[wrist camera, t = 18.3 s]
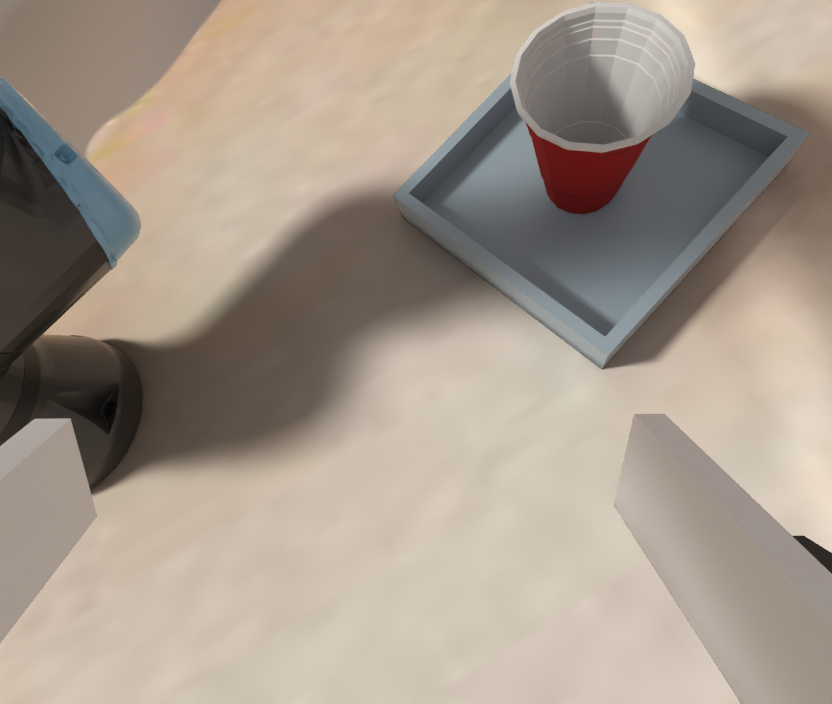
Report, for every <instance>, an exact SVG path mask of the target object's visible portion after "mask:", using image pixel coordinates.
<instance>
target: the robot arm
mask: <svg viewBox="0 0 832 704" xmlns="http://www.w3.org/2000/svg"><path fill="white" fill-rule="evenodd" d="M140 228H141V223H140V218H139V215H138V213H137V211H136V210H135V209H134V208H133V206H132V205H131V204H130V203H129V202H128V201H127V200H126V199H125V198H124V197H123V196H122V195H121V194H120V193H119V192H118V191H117V190H116V189H115V188H114V187H113V185H112V184H111V183H110V182H109V181H108V180H107V179H106V178H105V177H104V176H103V175H102V174H101V173H100V172H99V171H98V170H97V169H96V168H95V167H94V166H93V165H92V164H91V163H90V162H89V161H88V160H87V159H86V158H85V157H84V156H83V155H82V154H81V153H80V152H79V151H78V150H77V149H76V148H75V147H74V146H73V145H72V144H71V143H70V142H69V141H68V140H67V139H66V138H65V137H64V136H63V135H62V134H61V133H60V132H59V131H58V130H57V129H56V128H55V127H54V126H53V125H52V124H51V123H50V122H49V121H48V120H47V119H46V118H45V117H44V116H43V115H42V114H41V113H40V112H39V111H38V110H37V109H36V108H35V107H34V106H33V105H32V104H31V103H29V101H28V100H27V99H26V98H25V97H24V96H23V95H22V94H21V93H19V92H18V91H17V90H16V89H15V88H14V87H13V86H12V85H11V84H10V83H9V82H8V81H6V80H4V79H2V78H0V643H1V642H2V640H3V639H4V638H5V636H6V635H7V634H8V632H9V631H10V630H11V628H12V627H13V626H14V624H15V623H16V622H17V621H18V619H19V618H20V617H21V615H22V614H23V613H24V611H25V610H26V609H27V607H28V606H29V605H30V603H31V602H32V601H33V600H34V598H35V597H36V596H37V594H38V593H39V592H40V590H41V589H42V588H43V586H44V585H45V584H46V582H47V581H48V580H49V579H50V577H51V576H52V575H53V573H54V572H55V571H56V569H57V568H58V567H59V565H60V564H61V563H62V562H63V560H64V559H65V558H66V556H67V555H68V554H69V552H70V551H71V550H72V548H73V547H74V546H75V544H76V543H77V542H78V541H79V539H80V538H81V537H82V535H83V534H84V533H85V531H86V530H87V529H88V527H89V526H90V525H91V523H92V522H93V521H94V520H95V518H96V517H97V513H96V510H95V506H94V502H93V499H92V495H91V491H90V489H91V488H92V487H94V486H95V485H96V484H98V483H99V482H100V481H102V480H103V479H104V478H105V477H106V476H107V475H108V474H109V473H110V472H111V471H112V470H113V469H114V468H115V466H116V465H117V464H118V463H119V461H120V460H121V459H122V457H123V455H124V454H125V452H126V451H127V449H128V447H129V445H130V443H131V441H132V439H133V436H134V434H135V431H136V428H137V425H138V421H139V417H140V411H141V387H140V381H139V378H138V374H137V372H136V370H135V367H134V366H133V364H132V362H131V361H130V359H129V358H128V357H127V356H126V355H125V354H124V353H123V352H122V351H120V350H119V349H117V348H116V347H114V346H111V345H109V344H106V343H104V342H101V341H98V340H96V339H93V338H89V337H85V336H75V335H72V336H62V335H42V334H43V333H44V332H45V331H46V330H47V329H48V328H49V327H50V326H52V325H53V324H54V323H55V322H56V321H57V320H58V319H59V318H60V317H61V316H62V315H63V314H64V313H65V312H66V311H67V310H68V309H69V308H71V307H72V306H73V305H74V304H75V303H76V302H77V301H78V300H79V299H80V298H81V297H82V296H83V295H84V294H85V293H86V292H87V291H88V290H90V289H91V288H92V287H93V286H94V285H95V284H96V283H97V282H98V281H99V280H100V279H101V278H102V277H103V276H104V275H105V274H106V273H107V272H109V271H110V270H112V269H113V268H114V267H115V266H116V265H117V260H118V259H119V258H120V257H121V256H122V255H123V254H124V253H125V251H126V250H127V249H128V248H129V247H130V246H131V245H132V244H133V242H134V241H135V240H136V239H137V238H138V235H139V233H140V232H139V231H140ZM614 506H615V508H616V510H617V511H618V513H619V514H620V516H621V517H622V519H623V520H624V522H625V524H626V525H627V527H628V528H629V530H630V531H631V533H632V534H633V536H634V538H635V539H636V541H637V542H638V544H639V545H640V547H641V549H642V550H643V552H644V553H645V555H646V556H647V558H648V559H649V561H650V563H651V564H652V566H653V567H654V569H655V570H656V572H657V573H658V575H659V577H660V578H661V580H662V581H663V583H664V584H665V586H666V587H667V589H668V591H669V592H670V594H671V595H672V597H673V598H674V600H675V601H676V603H677V605H678V606H679V608H680V609H681V611H682V612H683V614H684V615H685V617H686V619H687V620H688V622H689V623H690V625H691V626H692V628H693V629H694V631H695V633H696V634H697V636H698V637H699V639H700V640H701V642H702V644H703V645H704V647H705V648H706V650H707V651H708V653H709V654H710V656H711V658H712V659H713V661H714V662H715V664H716V665H717V667H718V668H719V670H720V672H721V673H722V675H723V676H724V678H725V679H726V681H727V682H728V684H729V686H730V687H731V689H732V690H733V692H734V693H735V695H736V696H737V698H738V700H739V701H740V703H741V704H832V553H831V552H829V551H827V550H826V549H824V548H823V547H821V546H819V545H818V544H816V543H814V542H813V541H811V540H810V539H808V538H806V537H805V536H792V535H791V534H790V533H788V532H787V531H786V530H785V529H784V528H783V527H782V526H781V525H780V524H779V523H778V522H777V521H776V520H775V519H774V518H773V517H772V516H771V515H770V514H769V513H768V512H767V511H765V510H764V509H763V508H762V507H761V506H760V505H759V504H758V503H757V502H756V501H755V500H754V499H753V498H752V497H751V496H750V495H749V494H748V493H747V492H746V491H745V490H743V489H742V488H741V487H740V486H739V485H738V484H737V483H736V482H735V481H734V480H733V479H732V478H731V477H730V476H729V475H728V474H727V473H726V472H725V471H724V470H723V469H722V468H720V467H719V466H718V465H717V464H716V463H715V462H714V461H713V460H712V459H711V458H710V457H709V456H708V455H707V454H706V453H705V452H704V451H703V450H702V449H701V448H700V447H699V446H697V445H696V444H695V443H694V442H693V441H692V440H691V439H690V438H689V437H688V436H687V435H686V434H685V433H684V432H683V431H682V430H681V429H680V428H679V427H678V426H677V425H675V424H674V423H673V422H672V421H671V420H670V419H669V418H668V417H667V416H666V415H665V414H634V417H633V422H632V426H631V431H630V435H629V440H628V444H627V448H626V453H625V457H624V462H623V466H622V471H621V475H620V479H619V484H618V488H617V493H616V497H615V502H614Z"/></svg>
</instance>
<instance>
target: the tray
mask: <svg viewBox="0 0 832 704" xmlns="http://www.w3.org/2000/svg"><path fill="white" fill-rule="evenodd" d="M511 74H512V73H511ZM511 74H510V75H509V76H508V77H507V78H506V79H505V80H504V82H503V83H502V84H501V85H500V86H499V87H498V88H497V89H496V90H495V91H494V92H493V93H492V94H491V95H490V96H489V97H488V98H487V99H486V100H485V101H484V102H483V103H482V104H481V105H480V106H479V107H478V108H477V109H476V110H475V111H474V112H473V113H472V114H471V116H470V117H469V118H468V119H467V120H466V121H465V122H464V123H463V124H462V125H461V126H460V127H459V128H458V129H457V130H456V131H455V132H454V133H453V134H452V135H451V136H450V137H449V138H448V139H447V140H446V141H445V142H444V143H443V144H442V145H441V146H440V147H439V148H438V149H437V151H436V152H435V153H434V154H433V155H432V156H431V157H430V158H429V159H428V160H427V161H426V162H425V163H424V164H423V165H422V166H421V167H420V168H419V169H418V170H417V171H416V172H415V173H414V174H413V175H412V176H411V177H410V178H409V179H408V180H407V181H406V182H405V183H404V185H403V186H402V187H401V188H400V189H399V190H398V191H397V192H396V193H395V194H394V195H393V197H394V199H395V201H396V203H397V206H398V208H399V210H400V212H401V214H402V216H403V218H404V219H405V220H407V221H408V222H409V223H411V224H412V225H413V226H415V227H416V228H417V229H419V230H420V231H421V232H422V233H424V234H425V235H426V236H428V237H429V238H430V239H432V240H433V241H434V242H436V243H437V244H438V245H439V246H441V247H442V248H443V249H445V250H446V251H447V252H449V253H450V254H451V255H453V256H454V257H455V258H457V259H458V260H459V261H460V262H462V263H463V264H464V265H466V266H467V267H468V268H470V269H471V270H472V271H474V272H475V273H476V274H477V275H479V276H480V277H481V278H483V279H484V280H485V281H487V282H488V283H489V284H491V285H492V286H493V287H494V288H496V289H497V290H498V291H500V292H501V293H502V294H504V295H505V296H506V297H508V298H509V299H510V300H512V301H513V302H514V303H515V304H517V305H518V306H519V307H521V308H522V309H523V310H525V311H526V312H527V313H529V314H530V315H531V316H532V317H534V318H535V319H536V320H538V321H539V322H540V323H542V324H543V325H544V326H546V327H547V328H548V329H550V330H551V331H552V332H553V333H555V334H556V335H557V336H559V337H560V338H561V339H563V340H564V341H565V342H567V343H568V344H569V345H570V346H572V347H573V348H574V349H576V350H577V351H578V352H580V353H581V354H582V355H584V356H585V357H586V358H588V359H589V360H590V361H591V362H593V363H594V364H595V365H597V366H598V367H599V368H601V369H602V368H603V367H604V366H605V365H606V364H607V363H608V362H609V361H610V360H611V359H612V357H613V356H614V355H615V354H616V353H617V352H618V351H619V350H620V349H621V348H622V346H623V345H624V344H625V343H626V342H627V341H628V340H629V339H630V338H631V337H632V335H633V334H634V333H635V332H636V331H637V330H638V329H639V328H640V327H641V325H642V324H643V323H644V322H645V321H646V320H647V319H648V318H649V317H650V316H651V314H652V313H653V312H654V311H655V310H656V309H657V308H658V307H659V306H660V305H661V303H662V302H663V301H664V300H665V299H666V298H667V297H668V296H669V295H670V294H671V292H672V291H673V290H674V289H675V288H676V287H677V286H678V285H679V284H680V283H681V281H682V280H683V279H684V278H685V277H686V276H687V275H688V274H689V273H690V272H691V270H692V269H693V268H694V267H695V266H696V265H697V264H698V263H699V262H700V260H701V259H702V258H703V257H704V256H705V255H706V254H707V253H708V252H709V251H710V249H711V248H712V247H713V246H714V245H715V244H716V243H717V242H718V241H719V240H720V238H721V237H722V236H723V235H724V234H725V233H726V232H727V231H728V230H729V229H730V227H731V226H732V225H733V224H734V223H735V222H736V221H737V220H738V219H739V218H740V216H741V215H742V214H743V213H744V212H745V211H746V210H747V209H748V208H749V207H750V205H751V204H752V203H753V202H754V201H755V200H756V199H757V198H758V197H759V195H760V194H761V193H762V192H763V191H764V190H765V189H766V188H767V187H768V186H769V184H770V183H771V182H772V181H773V180H774V179H775V178H776V177H777V176H778V175H779V173H780V172H781V171H782V170H783V169H784V168H785V167H786V166H787V165H788V163H789V162H790V160H791V159H792V158H793V156H794V155H795V153H796V152H797V151H798V149H799V148H800V147H801V145H802V144H803V142H804V141H805V140H806V138H807V137H808V135H809V134H810V133H809V132H806V131H804V130H802V129H800V128H798V127H796V126H793V125H791V124H789V123H787V122H785V121H783V120H781V119H778V118H776V117H774V116H772V115H770V114H768V113H766V112H763V111H761V110H759V109H757V108H755V107H753V106H750V105H748V104H746V103H744V102H742V101H740V100H738V99H735V98H733V97H731V96H729V95H727V94H725V93H723V92H720V91H718V90H716V89H714V88H712V87H710V86H707V85H705V84H703V83H701V82H699V81H697V80H695V79H693V81H692V88H691V94H690V95H689V97H688V98H687V100H686V101H685V103H684V104H683V105H682V107H681V108H680V110H679V111H678V113H677V114H676V116H675V117H674V118H673V120H672V121H671V122H670V123H669V124H668V125H667V126H665V127H664V128H662V129H661V130H659V131H657V132H656V133H655V134H654V135H652V136H651V138H650V139H649V141H648V143H647V144H646V146H645V148H644V149H643V151H642V153H641V155H640V156H639V158H638V160H637V161H636V163H635V165H634V166H633V168H632V170H631V171H630V173H629V174H628V175H627V177H626V178H625V180H624V182H623V184H622V186H621V188H620V189H619V191H618V192H617V194H616V195H615V196H614V198H613V199H612V200H611V201H610V202H609V204H607V205H606V206H604V207H602V208H601V209H599V210H598V211H595V212H591V213H587V214H573V213H568V212H566V211H564V210H562V209H559V208H557V206H556V205H555V204H554V203H553V202H552V201H551V200H550V198H549V196H548V195H547V192H546V188H545V185H544V181H543V179H542V177H541V173H540V169H539V166H538V162H537V158H536V154H535V150H534V146H533V142H532V138H531V136H530V134H529V131H528V127H527V126H526V122H525V121H524V120H523V119H522V117H521V116H520V115H519V114H518V112H517V109H516V105H515V101H514V98H513V94H512V90H511V86H510V79H511Z"/></svg>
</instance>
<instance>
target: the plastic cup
mask: <svg viewBox="0 0 832 704" xmlns="http://www.w3.org/2000/svg"><path fill="white" fill-rule="evenodd" d="M694 67H695V62H694V59H693V57H692V54H691V52H690V49H689V46H688V44H687V41H686V39H685V36H684V35H683V34H682V33H681V32H680V31H679V30H678V29H677V28H675V27H674V26H673V25H672V24H671V23H670V22H669V21H668V20H667V19H666V18H664V17H663V16H662V15H661V14H658V13H655V12H653V11H650V10H647V9H644V8H642V7H639V6H636V5H634V4H631V3H601V2H595V3H591V4H588V5H584V6H581V7H577V8H573V9H570V10H566V11H563V12H561V13H559V14H558V15H556V16H555V17H553V18H552V19H550V20H549V21H547V22H546V23H544V24H543V25H541V26H539V27H538V28H536V29H535V30H534V31H533V32H532V34H531V35H530V36H529V38H528V39H527V40H526V42H525V43H524V44H523V46H522V47H521V48H520V50H519V51H518V52H517V54H516V57H515V61H514V65H513V70H512V74H511V79H510V86H511V90H512V94H513V98H514V101H515V105H516V109H517V112H518V114H519V115H520V116H521V117H522V119H523V120H524V121H525V122H526V126H527V127H528V131H529V134H530V136H531V138H532V142H533V146H534V150H535V154H536V158H537V162H538V166H539V169H540V173H541V177H542V179H543V181H544V185H545V188H546V192H547V195H548V196H549V198H550V200H551V201H552V202H553V203H554V204H555V205H556V206H557V208H559V209H562V210H564V211H566V212H568V213H573V214H587V213H591V212H595V211H598V210H599V209H601V208H602V207H604V206H606V205H607V204H609V202H610V201H611V200H612V199H613V198H614V196H615V195H616V194H617V192H618V191H619V189H620V188H621V186H622V184H623V182H624V180H625V178H626V177H627V175H628V174H629V173H630V171H631V170H632V168H633V166H634V165H635V163H636V161H637V160H638V158H639V156H640V155H641V153H642V151H643V149H644V148H645V146H646V144H647V143H648V141H649V139H650V138H651V136H652V135H654V134H655V133H656V132H657V131H659V130H661V129H662V128H664V127H665V126H667V125H668V124H669V123H670V122H671V121H672V120H673V118H674V117H675V116H676V114H677V113H678V111H679V110H680V108H681V107H682V105H683V104H684V103H685V101H686V100H687V98H688V97H689V95H690V94H691V88H692V81H693V74H694Z"/></svg>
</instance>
